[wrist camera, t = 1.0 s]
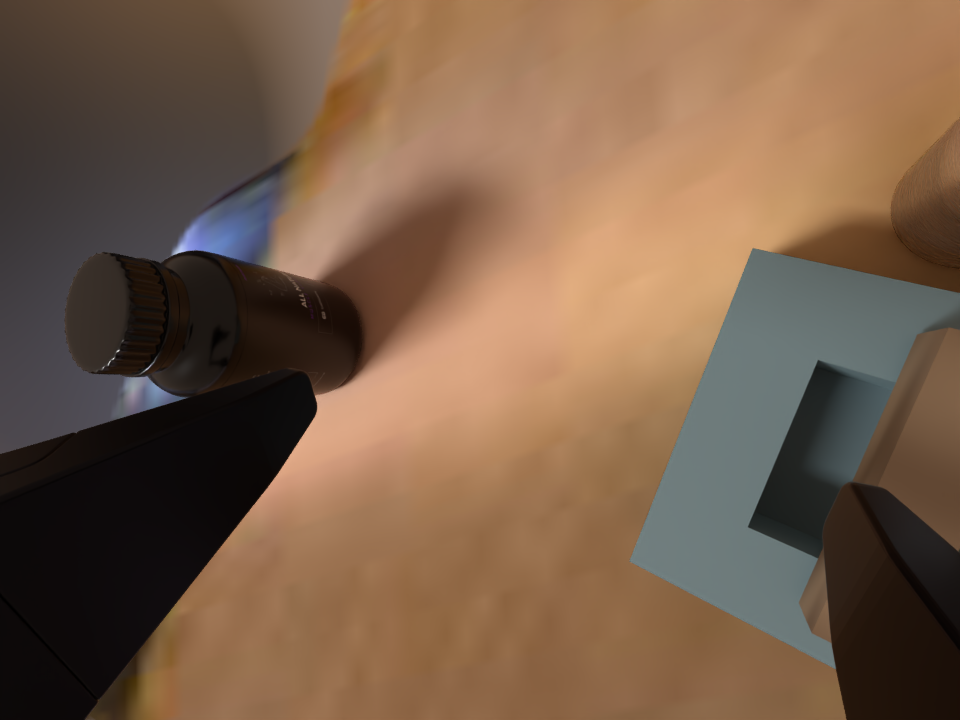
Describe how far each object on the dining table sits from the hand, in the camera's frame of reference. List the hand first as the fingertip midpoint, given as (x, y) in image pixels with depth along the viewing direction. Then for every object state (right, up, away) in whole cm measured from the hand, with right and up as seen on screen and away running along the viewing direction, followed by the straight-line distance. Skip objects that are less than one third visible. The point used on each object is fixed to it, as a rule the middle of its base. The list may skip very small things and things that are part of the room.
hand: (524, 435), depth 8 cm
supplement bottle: (-10, +3, +21) cm, 24 cm away
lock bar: (+12, -3, +6) cm, 13 cm away
